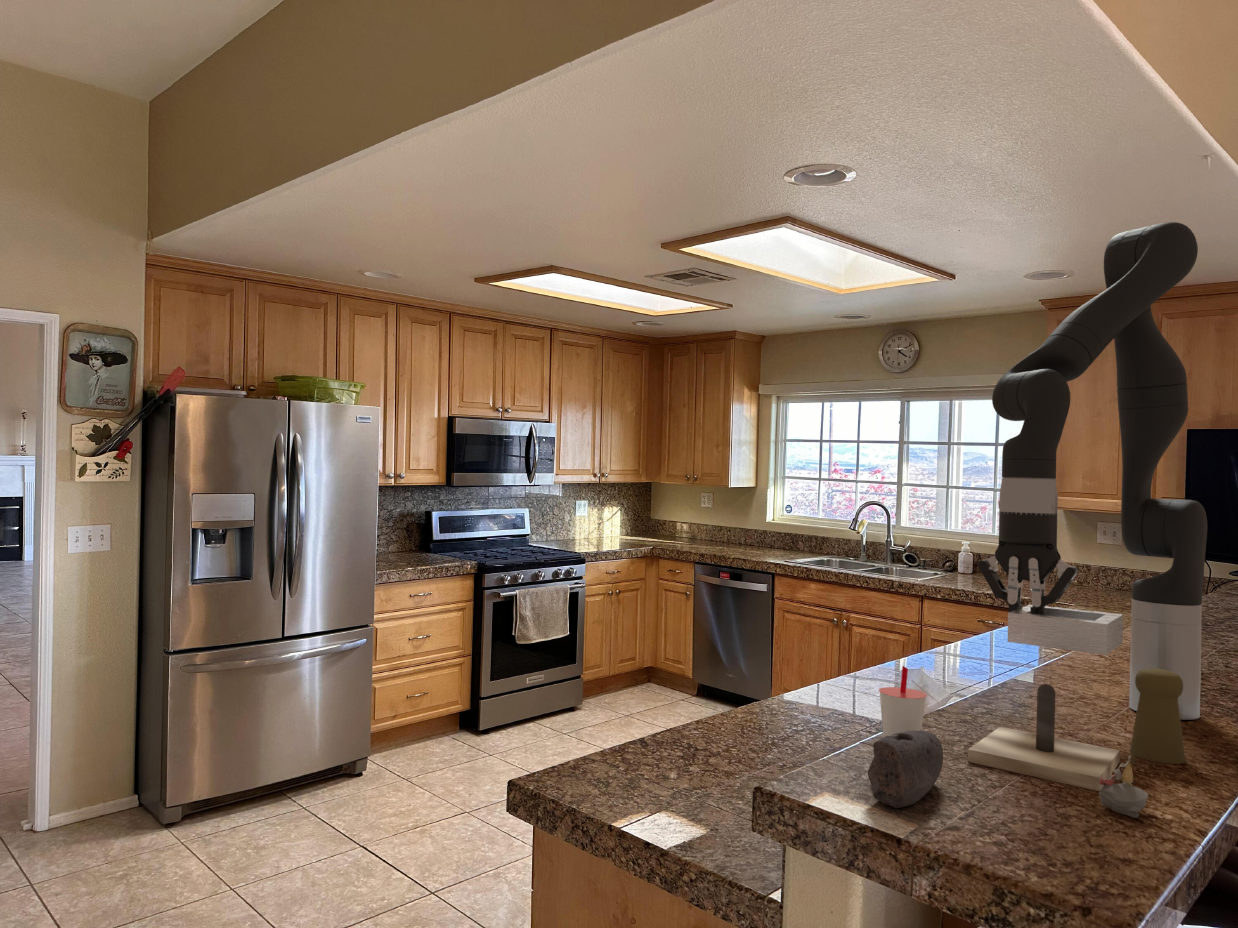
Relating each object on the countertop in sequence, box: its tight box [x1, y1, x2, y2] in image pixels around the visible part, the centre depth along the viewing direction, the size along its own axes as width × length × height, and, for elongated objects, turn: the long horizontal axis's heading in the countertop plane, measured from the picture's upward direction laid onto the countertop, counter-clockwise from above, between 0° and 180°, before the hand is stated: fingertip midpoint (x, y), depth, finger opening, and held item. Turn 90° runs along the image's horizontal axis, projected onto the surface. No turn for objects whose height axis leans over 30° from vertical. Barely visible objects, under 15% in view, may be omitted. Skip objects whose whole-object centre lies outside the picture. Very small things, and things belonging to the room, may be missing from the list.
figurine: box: [1098, 754, 1149, 819], centre depth 88 cm, size 5×4×6 cm
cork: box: [1129, 668, 1187, 765], centre depth 108 cm, size 6×6×11 cm
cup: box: [878, 665, 928, 738], centre depth 99 cm, size 5×5×12 cm
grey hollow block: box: [1007, 604, 1124, 656], centre depth 117 cm, size 12×12×4 cm
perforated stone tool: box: [867, 730, 944, 809], centre depth 90 cm, size 15×5×7 cm, turn 138°
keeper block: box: [967, 683, 1121, 792], centre depth 103 cm, size 14×14×10 cm
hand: (1025, 630), depth 120 cm, fingers closed on grey hollow block
